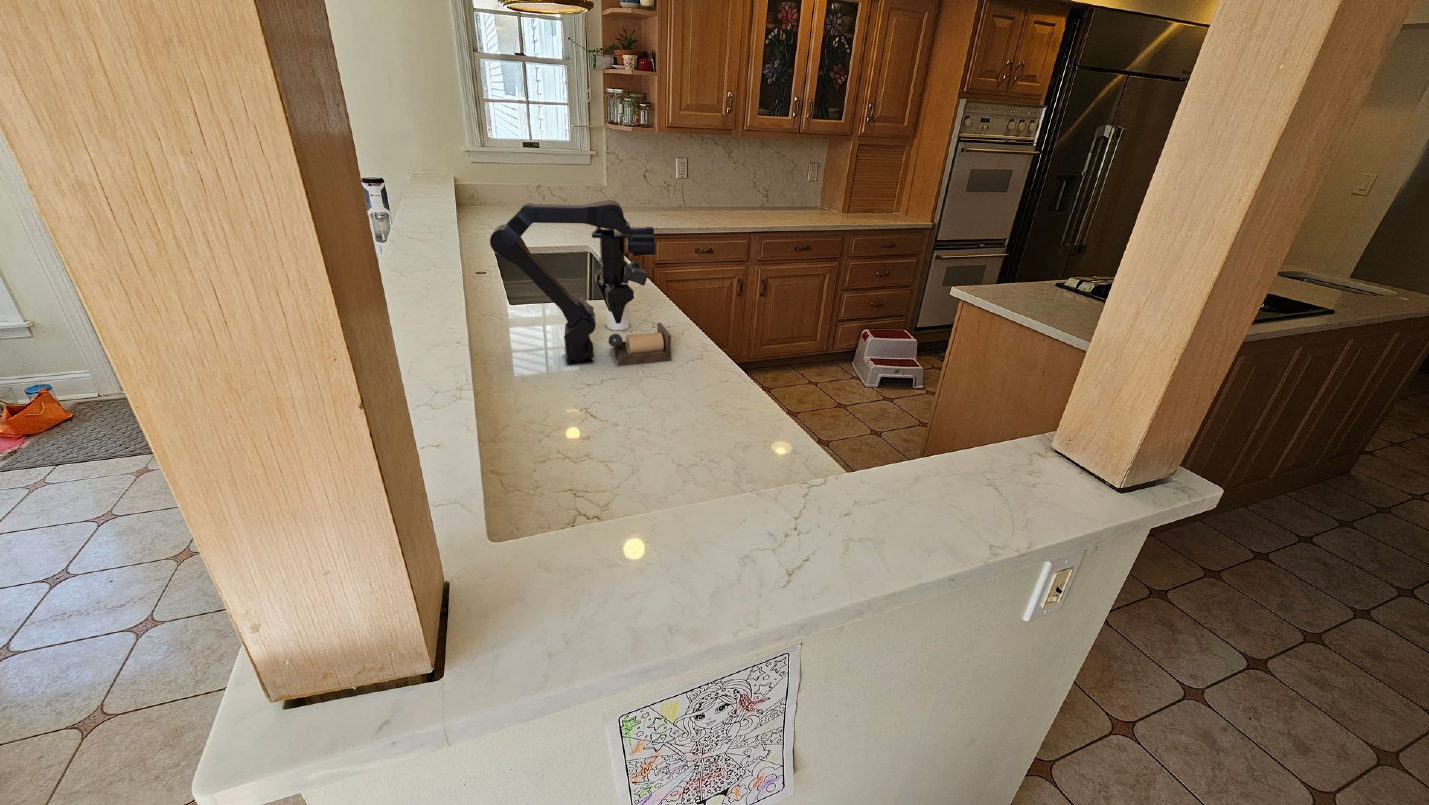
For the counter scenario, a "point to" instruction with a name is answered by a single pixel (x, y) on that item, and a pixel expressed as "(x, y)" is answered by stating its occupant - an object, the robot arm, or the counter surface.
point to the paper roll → (644, 343)
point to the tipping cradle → (628, 359)
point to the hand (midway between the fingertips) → (614, 317)
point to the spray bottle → (624, 322)
